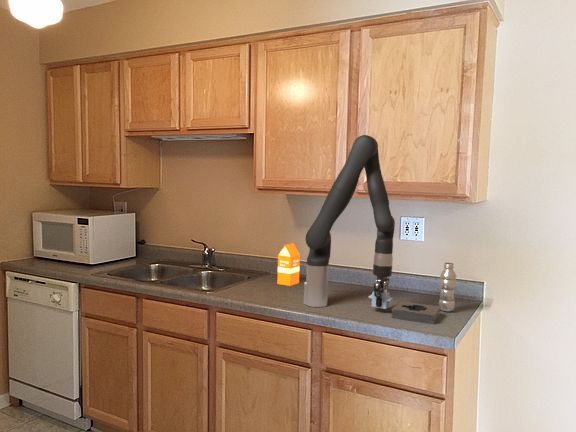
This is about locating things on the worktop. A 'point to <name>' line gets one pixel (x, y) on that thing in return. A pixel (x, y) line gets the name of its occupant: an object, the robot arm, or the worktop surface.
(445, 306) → the plastic bottle
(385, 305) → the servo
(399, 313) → the block with stepped hole
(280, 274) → the orange juice
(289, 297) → the worktop surface
